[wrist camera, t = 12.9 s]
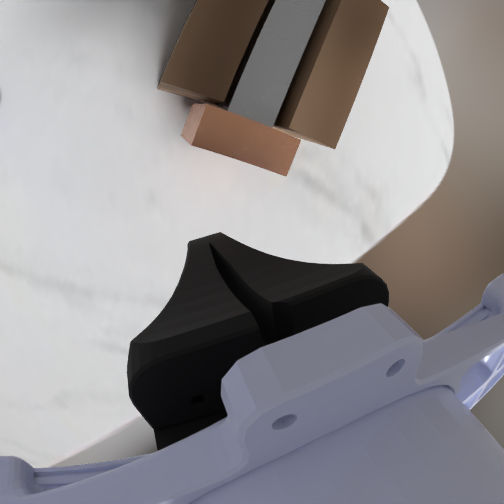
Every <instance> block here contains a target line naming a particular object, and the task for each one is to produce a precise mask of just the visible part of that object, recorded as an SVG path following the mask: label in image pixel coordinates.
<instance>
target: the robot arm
mask: <svg viewBox="0 0 504 504" xmlns="http://www.w3.org/2000/svg"><path fill="white" fill-rule="evenodd" d="M187 246H188V251H187V257H186V262H185V266H184V269H183V272H182V275H181V278H180V280H179V283H178V285H177V287H176V289H175V291H174V293H173V295H172V297H171V298H170V300H169V302H168V303H167V305H166V306H165V308H164V309H163V310H162V311H161V313H160V314H159V315H158V316H157V317H156V318H155V320H154V321H153V322H152V323H151V324H150V325H149V326H148V327H147V328H146V329H144V330H143V331H142V332H141V333H140V334H139V335H138V336H137V337H135V338H134V339H133V340H132V341H131V342H130V348H129V355H128V364H127V377H128V388H129V397H130V399H131V401H132V403H133V405H134V406H135V407H136V409H137V410H138V411H139V412H140V414H141V415H142V416H143V417H144V419H145V420H146V421H147V422H148V423H149V425H150V426H151V427H152V428H153V429H154V433H155V439H156V444H157V450H158V451H157V452H154V453H151V454H147V455H141V456H137V457H131V458H126V459H120V460H114V461H107V462H100V463H92V464H85V465H76V466H65V467H50V468H33V467H32V466H31V465H30V464H29V463H27V462H26V461H24V460H23V459H21V458H18V457H15V456H0V504H504V449H503V448H502V447H501V446H500V445H499V444H498V442H497V441H496V440H495V439H494V438H493V437H492V435H491V434H490V433H489V432H488V431H487V430H486V429H485V427H484V426H483V425H482V424H481V423H480V422H479V421H478V420H477V418H476V417H475V416H474V415H473V414H472V413H471V412H470V411H469V410H470V409H471V408H472V407H473V406H474V405H475V404H476V403H477V402H478V401H479V400H480V399H481V398H482V397H483V396H484V395H485V394H486V393H487V392H488V391H489V390H490V389H491V388H492V387H493V386H494V385H495V383H497V381H498V380H499V379H500V378H501V377H502V376H503V375H504V274H501V275H500V276H498V277H497V278H496V279H495V280H493V281H492V282H490V283H489V284H488V286H487V287H486V289H485V291H484V293H483V296H482V300H481V303H480V304H479V305H478V306H477V307H476V308H474V309H472V310H471V311H470V312H468V313H467V314H466V315H464V316H463V317H461V318H460V319H459V320H457V321H456V322H454V323H453V324H451V325H450V326H448V327H447V328H445V329H444V330H442V331H441V332H439V333H438V334H436V335H435V336H433V337H432V338H429V339H426V340H423V339H422V338H421V337H420V336H419V335H418V334H417V333H416V332H415V331H414V330H413V329H412V328H411V327H410V326H409V325H408V324H407V323H406V322H405V321H403V320H402V319H401V318H400V317H399V316H398V315H397V314H396V313H395V312H394V311H393V310H392V309H390V308H388V303H389V291H388V288H387V285H386V283H385V282H384V281H383V280H382V279H381V278H380V277H379V276H377V275H376V274H375V273H374V272H373V271H371V270H370V269H369V268H368V267H367V266H365V265H364V264H363V263H355V264H317V263H307V262H300V261H294V260H289V259H284V258H280V257H277V256H273V255H270V254H266V253H264V252H261V251H258V250H256V249H253V248H251V247H249V246H246V245H244V244H242V243H240V242H238V241H236V240H234V239H232V238H230V237H228V236H226V235H225V234H223V233H221V232H219V233H216V234H212V235H209V236H206V237H202V238H199V239H196V240H192V241H189V243H188V245H187Z"/></svg>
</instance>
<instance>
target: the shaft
mask: <svg viewBox="0 0 504 504" xmlns="http://www.w3.org/2000/svg"><path fill="white" fill-rule="evenodd" d="M325 1H326V0H269V1H268V3H267V5H266V7H265V9H264V11H263V13H262V15H261V17H260V19H259V21H258V24H257V26H256V28H255V30H254V32H253V34H252V37H251V39H250V41H249V43H248V46H247V48H246V50H245V52H244V55H243V57H242V59H241V62H240V64H239V66H238V69H237V71H236V73H235V76H234V78H233V80H232V83H231V85H230V88H229V90H228V93H227V95H226V98H225V100H224V102H219V104H218V107H215V106H212V105H209V104H192V106H191V109H190V112H189V114H188V117H187V120H186V122H185V125H184V128H183V131H182V134H181V136H182V137H183V138H184V139H185V140H186V141H187V142H188V143H190V144H191V145H192V146H196V147H199V148H202V149H206V150H209V151H212V152H215V153H219V154H222V155H225V156H228V157H231V158H234V159H237V160H240V161H243V162H246V163H249V164H252V165H255V166H258V167H261V168H264V169H267V170H270V171H272V172H275V173H278V174H281V175H284V176H287V173H288V171H289V169H290V166H291V164H292V161H293V159H294V156H295V154H296V151H297V149H298V146H299V144H300V141H301V140H300V139H297V138H295V137H293V136H290V135H288V134H286V133H283V132H281V131H278V130H276V129H273V125H274V123H275V120H276V118H277V115H278V113H279V110H280V108H281V105H282V103H283V100H284V98H285V95H286V93H287V91H288V88H289V86H290V83H291V81H292V78H293V76H294V74H295V71H296V69H297V66H298V64H299V62H300V59H301V57H302V54H303V52H304V50H305V47H306V45H307V43H308V40H309V38H310V36H311V33H312V31H313V29H314V26H315V24H316V22H317V19H318V17H319V15H320V12H321V10H322V8H323V6H324V3H325Z"/></svg>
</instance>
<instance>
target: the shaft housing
mask: <svg viewBox="0 0 504 504" xmlns="http://www.w3.org/2000/svg"><path fill="white" fill-rule="evenodd" d="M268 1H269V0H196V2H195V4H194V6H193V8H192V10H191V12H190V14H189V16H188V18H187V20H186V22H185V24H184V27H183V29H182V31H181V33H180V35H179V37H178V40H177V42H176V44H175V46H174V49H173V51H172V53H171V56H170V58H169V60H168V63H167V65H166V67H165V70H164V72H163V75H162V77H161V80H160V83H159V85H158V88H157V89H160V90H164V91H167V92H171V93H174V94H178V95H181V96H184V97H187V98H190V99H194V100H197V101H200V102H203V103H206V104H209V105H212V106H215V107H218V104H219V102H224V100H225V98H226V95H227V93H228V90H229V88H230V85H231V83H232V80H233V78H234V76H235V73H236V71H237V69H238V66H239V64H240V62H241V59H242V57H243V55H244V52H245V50H246V48H247V46H248V43H249V41H250V39H251V37H252V34H253V32H254V30H255V28H256V26H257V24H258V21H259V19H260V17H261V15H262V13H263V11H264V9H265V7H266V5H267V3H268ZM388 9H389V7H388V6H387V5H386V4H384V3H383V2H382V1H381V0H326V1H325V3H324V6H323V8H322V10H321V12H320V15H319V17H318V19H317V22H316V24H315V26H314V29H313V31H312V33H311V36H310V38H309V40H308V43H307V45H306V47H305V50H304V52H303V54H302V57H301V59H300V62H299V64H298V66H297V69H296V71H295V74H294V76H293V78H292V81H291V83H290V86H289V88H288V91H287V93H286V95H285V98H284V100H283V103H282V105H281V108H280V110H279V113H278V115H277V118H276V120H275V123H274V125H273V129H276V130H278V131H281V132H283V133H286V134H288V135H290V136H294V137H297V138H301V139H304V140H307V141H311V142H314V143H317V144H321V145H324V146H327V147H330V148H333V149H335V148H336V146H337V143H338V141H339V138H340V136H341V133H342V131H343V128H344V126H345V123H346V121H347V118H348V116H349V113H350V111H351V108H352V106H353V103H354V101H355V98H356V95H357V93H358V90H359V88H360V85H361V83H362V80H363V77H364V75H365V72H366V69H367V67H368V64H369V61H370V59H371V56H372V53H373V51H374V48H375V45H376V43H377V40H378V37H379V34H380V32H381V29H382V26H383V23H384V20H385V18H386V15H387V12H388Z"/></svg>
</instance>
